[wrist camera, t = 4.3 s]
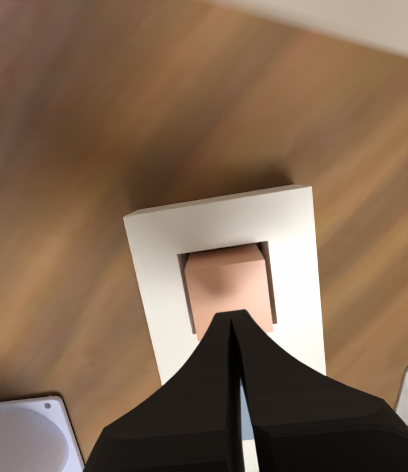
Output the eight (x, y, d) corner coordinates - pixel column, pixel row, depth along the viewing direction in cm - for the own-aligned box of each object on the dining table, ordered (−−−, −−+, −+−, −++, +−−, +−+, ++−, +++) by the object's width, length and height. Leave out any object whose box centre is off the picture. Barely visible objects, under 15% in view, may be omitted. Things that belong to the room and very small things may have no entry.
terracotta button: (200, 312, 17) (197, 341, 14) (189, 253, 16) (184, 271, 13) (263, 304, 17) (273, 331, 14) (255, 243, 16) (264, 259, 13)
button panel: (204, 508, 23) (202, 556, 20) (138, 209, 17) (122, 217, 14) (322, 499, 22) (339, 548, 19) (294, 184, 17) (311, 186, 14)
